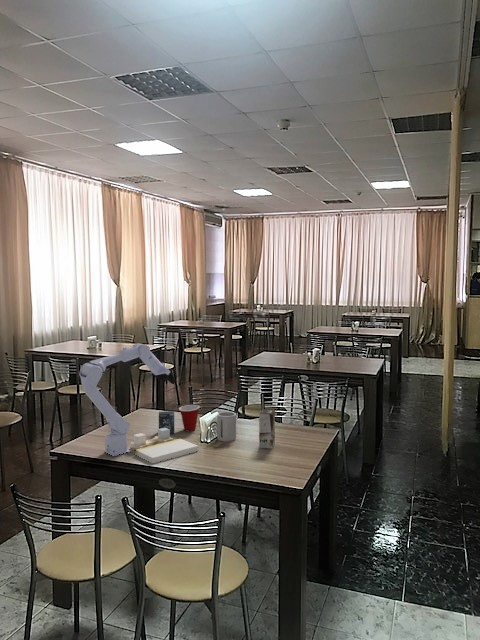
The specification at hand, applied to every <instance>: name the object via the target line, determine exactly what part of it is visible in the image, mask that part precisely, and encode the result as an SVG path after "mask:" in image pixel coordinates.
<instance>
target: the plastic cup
mask: <svg viewBox="0 0 480 640" xmlns="http://www.w3.org/2000/svg"><path fill="white" fill-rule="evenodd" d="M178 410H179V412H180V415H181V420H182V425H183V430H184V429H185V430H194V431H195V430H196V429H197V428H196V427H197V423H198V417H199V410H200V405H199V404H186V405H183V406H180V407H178ZM185 430H184V431H185Z"/></svg>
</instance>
